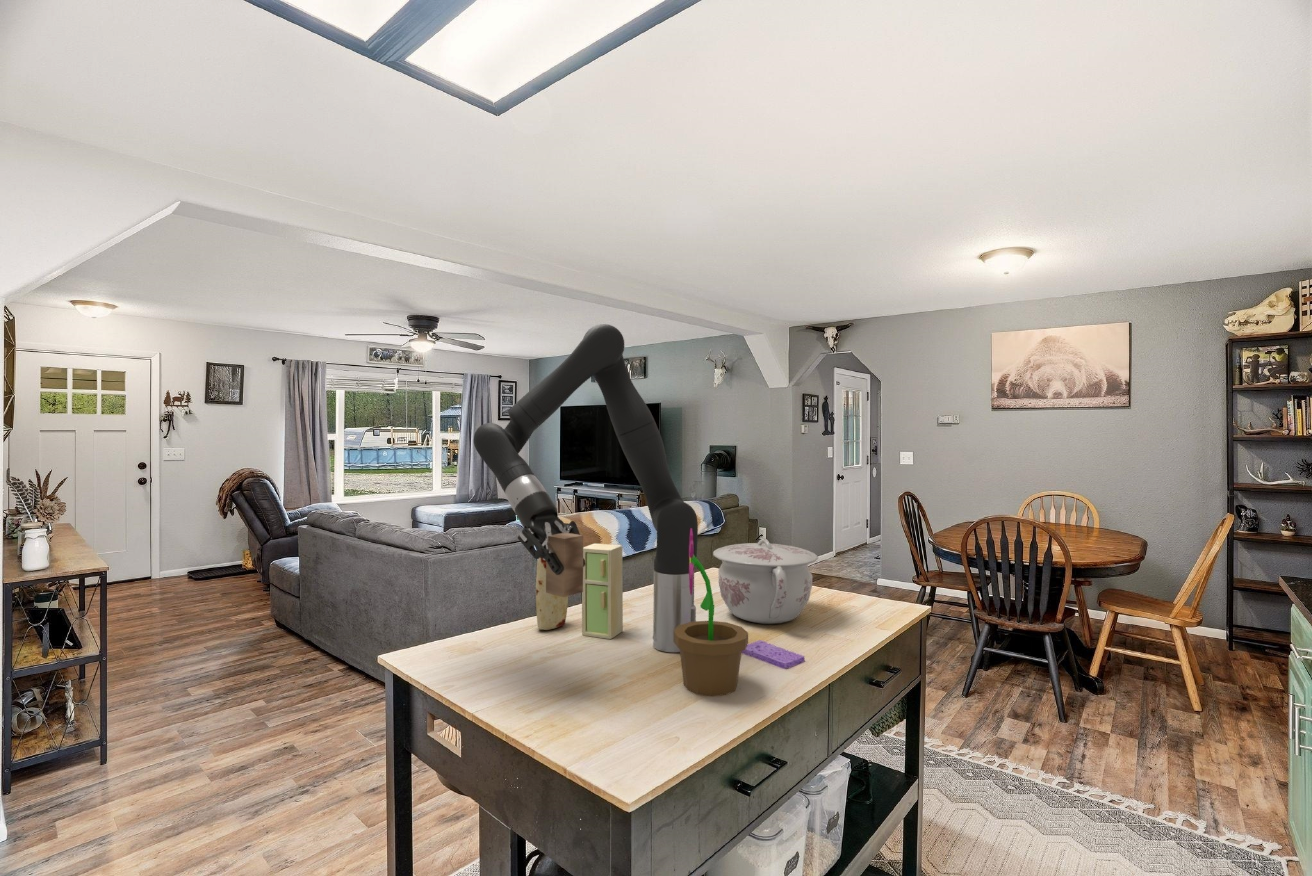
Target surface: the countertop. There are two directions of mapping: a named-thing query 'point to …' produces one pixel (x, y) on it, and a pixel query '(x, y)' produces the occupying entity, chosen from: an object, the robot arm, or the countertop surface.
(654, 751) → the countertop surface
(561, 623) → the food model
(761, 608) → the chamber pot
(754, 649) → the sponges
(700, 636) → the flowerpot
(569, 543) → the walnut block
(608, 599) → the toy refrigerator
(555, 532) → the robot arm
